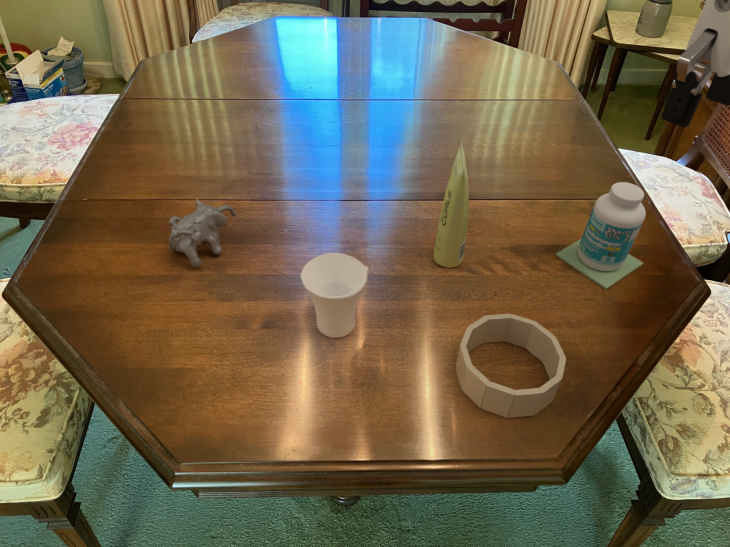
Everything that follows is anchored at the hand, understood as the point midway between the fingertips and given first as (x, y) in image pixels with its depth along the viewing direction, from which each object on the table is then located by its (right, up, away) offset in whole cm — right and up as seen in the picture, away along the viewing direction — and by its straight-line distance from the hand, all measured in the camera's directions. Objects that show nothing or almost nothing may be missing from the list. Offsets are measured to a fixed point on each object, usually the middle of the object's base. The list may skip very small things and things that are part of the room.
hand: (696, 111), depth 66 cm
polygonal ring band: (-21, -33, +8) cm, 40 cm away
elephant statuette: (-67, -15, +26) cm, 73 cm away
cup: (-44, -27, +14) cm, 53 cm away
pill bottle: (-1, -17, +25) cm, 30 cm away
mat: (-1, -17, +25) cm, 30 cm away
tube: (-26, -17, +25) cm, 40 cm away
